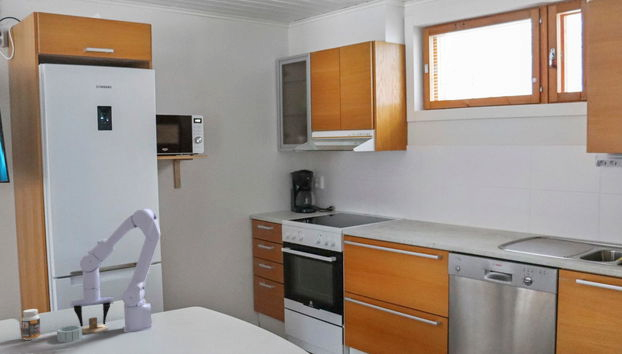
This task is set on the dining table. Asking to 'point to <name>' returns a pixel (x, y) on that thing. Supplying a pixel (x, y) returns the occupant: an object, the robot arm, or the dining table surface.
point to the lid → (93, 327)
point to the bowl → (69, 333)
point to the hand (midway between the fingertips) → (93, 324)
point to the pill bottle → (30, 324)
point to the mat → (98, 332)
